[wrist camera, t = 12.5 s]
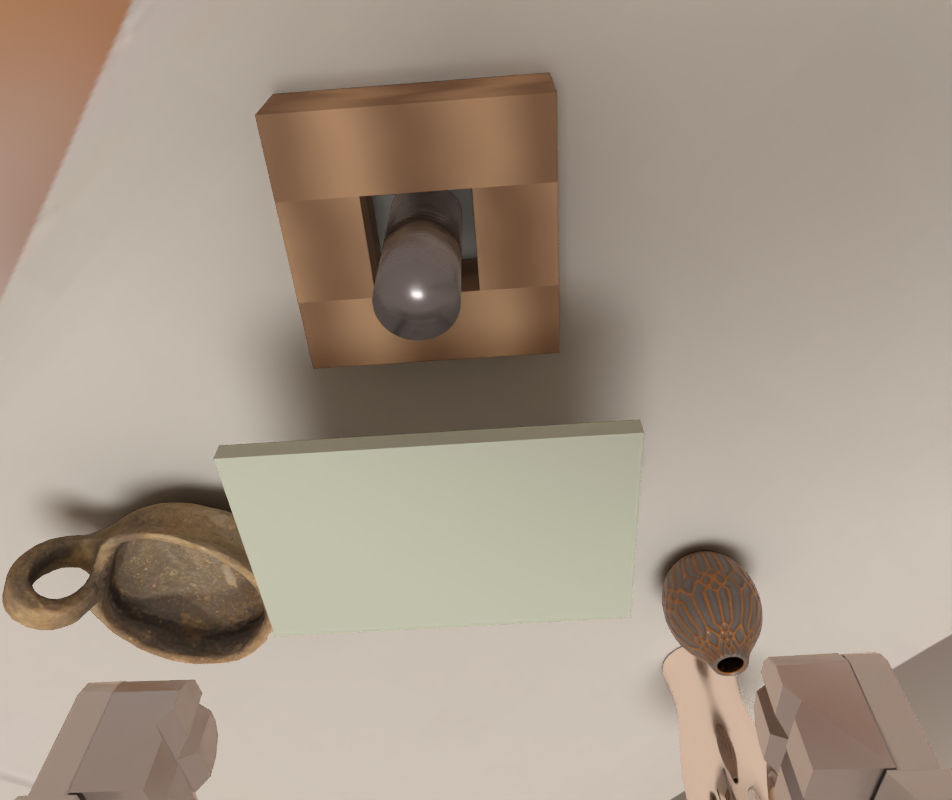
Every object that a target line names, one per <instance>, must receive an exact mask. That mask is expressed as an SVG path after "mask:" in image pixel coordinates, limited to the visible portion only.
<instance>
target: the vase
mask: <svg viewBox="0 0 952 800" xmlns="http://www.w3.org/2000/svg"><path fill="white" fill-rule="evenodd" d="M662 605H663V611H664V615H665V619H666V622H667V624H668V626H669V629H670V630H671V632H672V634H673V635H674V637H675V638H676V640H677V641H678V642H679V644H680V645H681V646H682V647H683V648H684V649H685V650H686V651H688V652H689V653H690V654H692V655H693V656H695V657H697V658H698V659H700V660H702V661H703V662H705V663H707V664H708V665H709V666H710V667H711V668H712V669H713V671H714V672H716V673H717V674H719V675H722V676H733V675H737V674H739V673H741V672H743V671H744V670H745V669H746V668H747V666H748V663H749V656H750V653H751V651H752V649H753V647H754V645H755V643H756V642H757V639H758V637H759V635H760V632H761V627H762V606H761V601H760V597H759V594H758V592H757V589H756V587H755V585H754V583H753V581H752V579H751V578H750V576H749V575H748V574H747V572H746V571H745V570H744V569H743V568H742V567H741V566H740V565H739V564H738V563H737V562H735V561H734V560H733V559H731V558H729V557H727V556H725V555H723V554H720V553H715V552H709V551H699V552H694V553H691V554H688V555H686V556H684V557H683V558H681V559H680V560H679V561H677V562H676V563H675V564H674V565H673V566H672V567H671V569H670V570H669V572H668V574H667V575H666V577H665V580H664V584H663V590H662Z"/></svg>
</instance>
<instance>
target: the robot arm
mask: <svg viewBox="0 0 952 800" xmlns="http://www.w3.org/2000/svg"><path fill="white" fill-rule="evenodd" d="M761 674H762V677H763V680H764V683H765V685H764V686H763V687H762V688H760V689H759V690H758V691H757V692H756V698H755V704H754V713H755V727H756V732H757V737H758V741H759V745H760V748H761V752H762V755H763V759H764V760H765V761H766V762H767V763H768V764H769V765H770V766H771V767H772V768H773V769H774V770H775V771H777V772H778V777H777V781H776V784H775V788H774V795H775V798H776V800H952V768H942V767H941V765H940V763H939V761H938V760H937V758H936V755H935V753H934V751H933V750H932V748H931V746H930V744H929V742H928V740H927V738H926V736H925V734H924V732H923V730H922V728H921V726H920V724H919V722H918V720H917V718H916V716H915V714H914V712H913V710H912V708H911V706H910V704H909V702H908V700H907V698H906V696H905V694H904V692H903V690H902V688H901V687H900V684H899V682H898V680H897V678H896V676H895V674H894V672H893V670H892V668H891V666H890V664H889V662H888V661H887V660H886V659H885V658H884V657H883V656H882V655H881V654H880V653H875V652H871V653H853V654H838V653H832V654H814V655H796V656H778V657H768V658H767V659H766V660H765V661H764V663H763V667H762V670H761ZM201 695H202V692H201V690H200V688H199V686H198V685H197V683H196V681H195V680H171V681H137V682H126V681H120V682H97V683H88V684H87V685H86V686H85V687H84V688H83V690H82V691H81V692H80V693H79V694H78V695H77V697H76V699H75V701H74V704H73V706H72V708H71V710H70V712H69V714H68V716H67V718H66V720H65V722H64V724H63V726H62V728H61V730H60V732H59V734H58V736H57V738H56V740H55V742H54V744H53V746H52V748H51V750H50V752H49V754H48V757H47V759H46V761H45V763H44V765H43V767H42V769H41V771H40V773H39V775H38V777H37V779H36V781H35V783H34V785H33V787H32V789H31V791H30V793H29V795H28V796H18V797H17V798H16V799H15V800H198V799H197V796H196V793H195V792H196V791H197V790H198V789H199V788H200V787H201V786H202V785H203V784H204V783H205V782H206V781H207V780H208V778H209V777H210V776H211V773H212V769H213V766H214V762H215V758H216V752H217V740H218V732H217V726H216V721H215V718H214V716H213V714H212V712H211V711H210V710H209V709H207V708H205V707H204V706H202V705H200V704H199V701H200V698H201Z"/></svg>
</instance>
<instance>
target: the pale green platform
mask: <svg viewBox="0 0 952 800" xmlns="http://www.w3.org/2000/svg"><path fill="white" fill-rule="evenodd" d="M643 439H644V431H643V428H642V425H641V421H640V420H626V421H609V422H593V423H577V424H561V425H544V426H528V427H512V428H496V429H479V430H463V431H447V432H431V433H414V434H398V435H382V436H366V437H349V438H333V439H317V440H301V441H284V442H268V443H252V444H236V445H219V447H218V449H217V452H216V454H215V456H214V462H215V465H216V468H217V470H218V473H219V476H220V479H221V482H222V485H223V488H224V491H225V493H226V496H227V499H228V502H229V505H230V508H231V511H232V514H233V516H234V519H235V522H236V525H237V528H238V531H239V534H240V537H241V539H242V542H243V545H244V548H245V551H246V554H247V557H248V559H249V562H250V565H251V568H252V571H253V574H254V577H255V580H256V582H257V585H258V588H259V591H260V594H261V597H262V600H263V603H264V605H265V608H266V611H267V614H268V617H269V620H270V623H271V625H272V628H273V631H274V634H275V636H295V635H314V634H333V633H352V632H371V631H390V630H409V629H428V628H447V627H466V626H485V625H504V624H523V623H542V622H561V621H580V620H599V619H618V618H631V612H632V597H633V583H634V568H635V554H636V540H637V525H638V511H639V496H640V482H641V468H642V453H643Z"/></svg>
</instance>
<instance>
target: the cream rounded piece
mask: <svg viewBox="0 0 952 800" xmlns="http://www.w3.org/2000/svg"><path fill="white" fill-rule="evenodd" d="M662 671H663V675H664V678H665V680H666V682H667V684H668V687H669V689H670V691H671V693H672V696H673V698H674V701H675V705H676V709H677V714H678V725H679V743H680V759H681V768H682V777H683V782H684V787H685V792H686V797H687V800H776V798H775V795H774V788H775V784H776V781H777V777H778V773H777V771H775V770H774V769H773V768H772V767H771V766H770V765H769V764H768V763H767V762H766V761H765V760H764V759H763V755H762V752H761V748H760V745H759V741H758V737H757V732H756V727H755V724H754V722H753V721H752V719H751V717H750V715H749V713H748V711H747V709H746V707H745V705H744V703H743V701H742V698H741V696H740V693H739V689H738V686H737V680H736V675H733V676H722V675H719V674H717V673H716V672H714V671H713V669H712V668H711V667H710V666H709V665H708V664H707V663H705V662H703V661H702V660H700V659H698V658H697V657H695V656H693V655H692V654H690V653H689V652H688V651H686V650H685V649H684V648H683V647H681V648H678V649H677V650H675V651H673V652H672V653H671V654H670V655H669V656H668V657H667V658H666V659H665V661H664V663H663V667H662Z"/></svg>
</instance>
